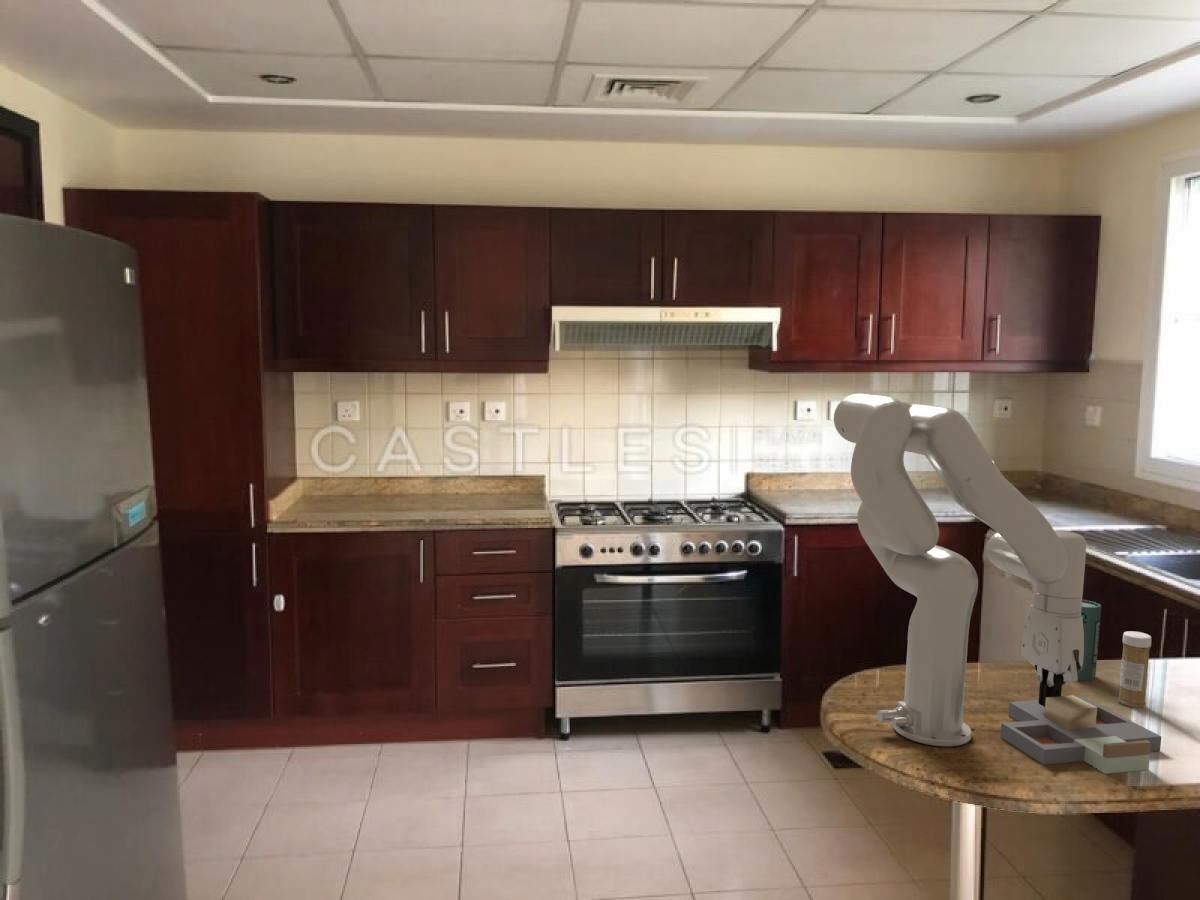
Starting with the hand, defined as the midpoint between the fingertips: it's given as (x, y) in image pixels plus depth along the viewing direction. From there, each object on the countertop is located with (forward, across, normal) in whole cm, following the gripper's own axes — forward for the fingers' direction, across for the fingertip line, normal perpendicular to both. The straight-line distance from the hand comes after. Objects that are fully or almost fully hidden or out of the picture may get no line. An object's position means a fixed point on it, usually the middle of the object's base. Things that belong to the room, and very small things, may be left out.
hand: (1049, 705), depth 161 cm
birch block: (+1, +5, 0) cm, 5 cm away
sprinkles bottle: (+4, -6, +23) cm, 24 cm away
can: (+4, -21, +24) cm, 32 cm away
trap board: (+4, +6, 0) cm, 7 cm away
